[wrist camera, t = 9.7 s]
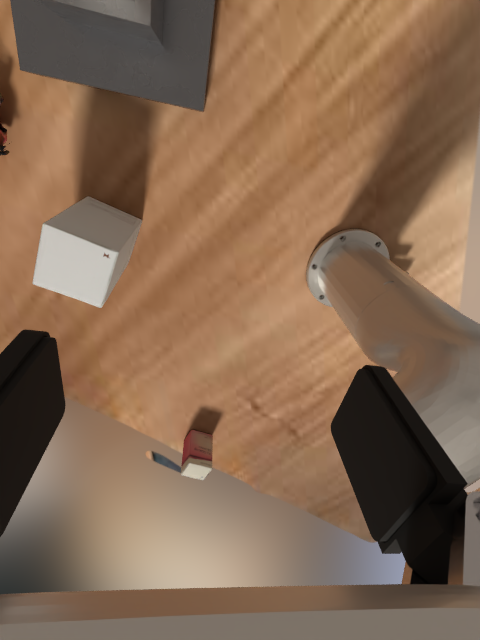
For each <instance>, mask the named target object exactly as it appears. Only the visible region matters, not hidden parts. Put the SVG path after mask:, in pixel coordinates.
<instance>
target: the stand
mask: <svg viewBox="0 0 480 640" xmlns="http://www.w3.org/2000/svg"><path fill="white" fill-rule="evenodd" d="M10 1H11V8H12V15H13V22H14V29H15V36H16V43H17V50H18V57H19V64H20V70H22V71H25V72H29V73H33V74H36V75H41V76H45V77H50V78H54V79H59V80H63V81H68V82H72V83H76V84H81V85H85V86H90V87H94V88H99V89H103V90H108V91H112V92H117V93H121V94H125V95H130V96H134V97H139V98H143V99H148V100H152V101H157V102H161V103H165V104H170V105H174V106H179V107H183V108H188V109H192V110H197V111H201V112H204V106H205V96H206V87H207V77H208V68H209V58H210V49H211V39H212V30H213V20H214V11H215V1H216V0H10Z"/></svg>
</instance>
